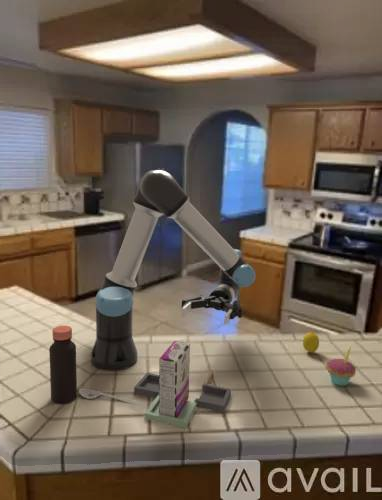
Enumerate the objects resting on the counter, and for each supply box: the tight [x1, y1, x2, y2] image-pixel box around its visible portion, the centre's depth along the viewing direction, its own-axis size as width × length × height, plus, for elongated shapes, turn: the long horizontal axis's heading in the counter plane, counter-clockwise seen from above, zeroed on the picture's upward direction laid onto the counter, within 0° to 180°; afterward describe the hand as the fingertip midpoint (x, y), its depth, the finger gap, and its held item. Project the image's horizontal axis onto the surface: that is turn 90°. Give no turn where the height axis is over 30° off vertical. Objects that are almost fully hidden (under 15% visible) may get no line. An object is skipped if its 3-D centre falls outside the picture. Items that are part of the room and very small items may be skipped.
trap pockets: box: [133, 372, 232, 414], centre depth 112 cm, size 26×9×2 cm, turn 72°
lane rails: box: [201, 369, 215, 391], centre depth 121 cm, size 11×10×2 cm
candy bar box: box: [158, 340, 191, 418], centre depth 104 cm, size 11×5×16 cm, turn 163°
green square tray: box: [144, 394, 198, 429], centre depth 104 cm, size 11×11×2 cm
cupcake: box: [325, 346, 357, 386], centre depth 121 cm, size 9×8×12 cm
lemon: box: [302, 331, 320, 354], centre depth 141 cm, size 6×6×8 cm
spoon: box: [78, 388, 139, 405], centre depth 109 cm, size 4×21×2 cm, turn 78°
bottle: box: [48, 325, 78, 405], centre depth 107 cm, size 7×7×20 cm
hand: (203, 316), depth 120 cm, fingers open, 13 cm apart
